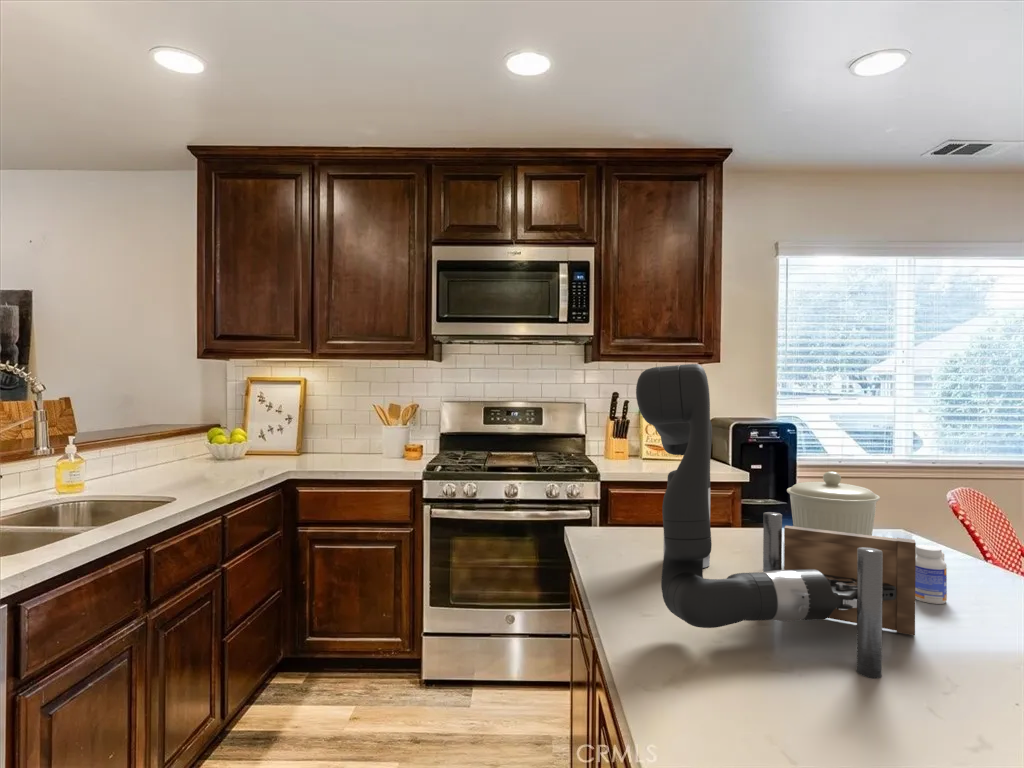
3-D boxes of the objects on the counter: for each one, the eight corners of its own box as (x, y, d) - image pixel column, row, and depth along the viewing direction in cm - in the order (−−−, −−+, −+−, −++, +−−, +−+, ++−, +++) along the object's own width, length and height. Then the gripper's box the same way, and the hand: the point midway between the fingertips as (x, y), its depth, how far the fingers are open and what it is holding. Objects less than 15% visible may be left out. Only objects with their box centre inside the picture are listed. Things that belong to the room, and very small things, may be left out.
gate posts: (759, 606, 107) (760, 512, 107) (774, 606, 108) (775, 512, 108) (867, 679, 81) (867, 553, 81) (887, 677, 81) (887, 552, 81)
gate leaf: (783, 611, 104) (784, 527, 104) (785, 606, 106) (785, 524, 106) (915, 635, 94) (915, 542, 94) (913, 630, 96) (914, 539, 96)
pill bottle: (952, 605, 109) (953, 552, 109) (919, 603, 110) (919, 550, 110) (937, 595, 114) (938, 544, 114) (906, 593, 115) (906, 543, 115)
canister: (898, 581, 122) (899, 478, 122) (809, 579, 123) (810, 477, 123) (850, 556, 140) (851, 466, 140) (772, 555, 141) (773, 465, 141)
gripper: (819, 584, 87) (926, 581, 89) (768, 558, 100) (863, 556, 102) (819, 636, 87) (926, 631, 89) (768, 603, 100) (863, 600, 102)
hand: (892, 591), depth 96 cm, fingers closed
